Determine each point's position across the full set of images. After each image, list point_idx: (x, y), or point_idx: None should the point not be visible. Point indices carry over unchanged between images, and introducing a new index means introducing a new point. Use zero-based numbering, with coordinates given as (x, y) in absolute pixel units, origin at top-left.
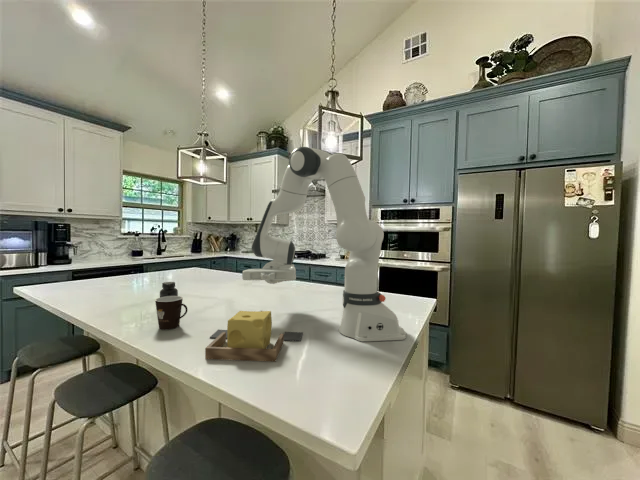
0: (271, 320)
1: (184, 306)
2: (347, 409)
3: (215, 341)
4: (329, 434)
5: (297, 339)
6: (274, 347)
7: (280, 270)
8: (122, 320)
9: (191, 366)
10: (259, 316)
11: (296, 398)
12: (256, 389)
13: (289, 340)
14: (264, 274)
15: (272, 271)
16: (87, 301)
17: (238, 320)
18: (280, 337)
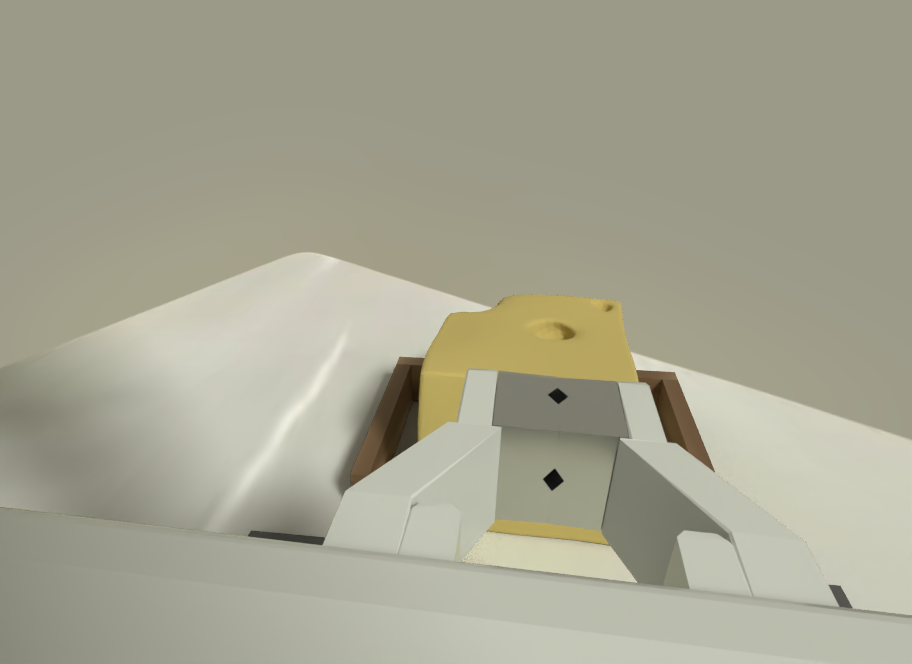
0: (418, 418)
1: None
2: (273, 282)
3: (676, 411)
4: (326, 260)
5: (265, 538)
6: (404, 370)
7: (51, 545)
8: None
9: (679, 379)
10: (479, 324)
11: (361, 298)
12: (447, 315)
13: (314, 539)
14: (603, 419)
15: (398, 557)
16: None
17: (567, 297)
18: (372, 437)
